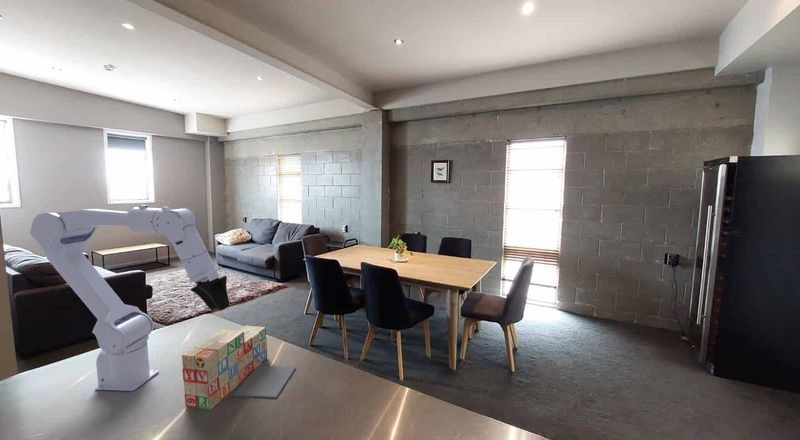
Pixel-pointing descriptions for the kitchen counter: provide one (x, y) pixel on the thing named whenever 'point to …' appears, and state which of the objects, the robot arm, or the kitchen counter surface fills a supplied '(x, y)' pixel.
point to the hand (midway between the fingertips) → (220, 308)
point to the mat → (265, 382)
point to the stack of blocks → (221, 364)
